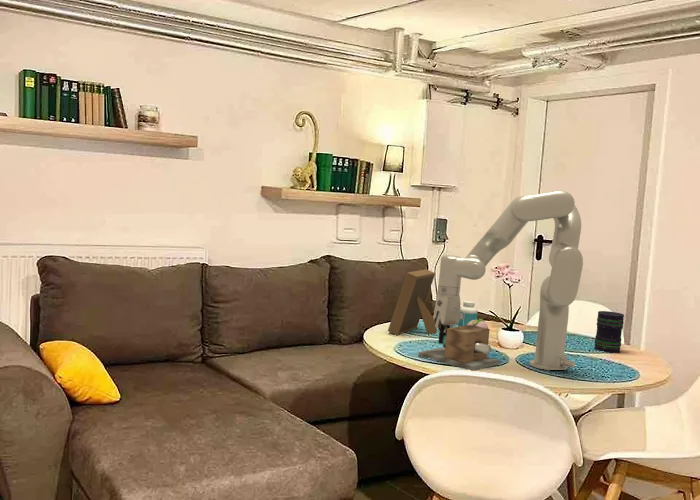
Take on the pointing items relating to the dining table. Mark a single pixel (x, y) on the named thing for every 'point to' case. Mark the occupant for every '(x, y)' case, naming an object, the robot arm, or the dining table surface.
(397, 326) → the photo frame
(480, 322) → the decorative fruit
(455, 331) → the bearing block
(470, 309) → the pill bottle
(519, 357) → the dining table surface
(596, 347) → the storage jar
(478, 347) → the shaft
